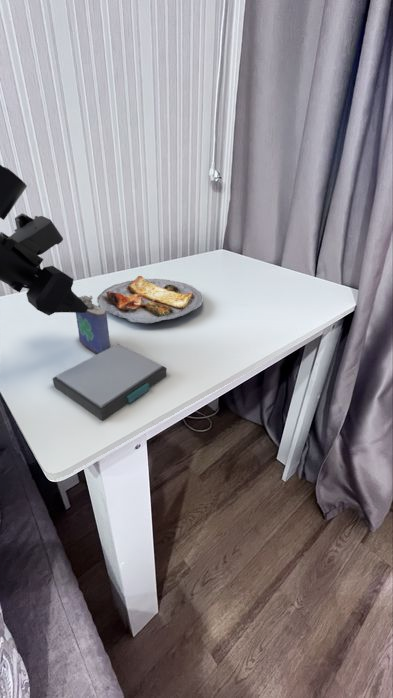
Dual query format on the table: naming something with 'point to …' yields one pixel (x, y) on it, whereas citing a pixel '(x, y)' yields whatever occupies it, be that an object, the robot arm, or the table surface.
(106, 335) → the flask
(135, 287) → the food plate
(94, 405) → the scale
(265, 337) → the table surface
